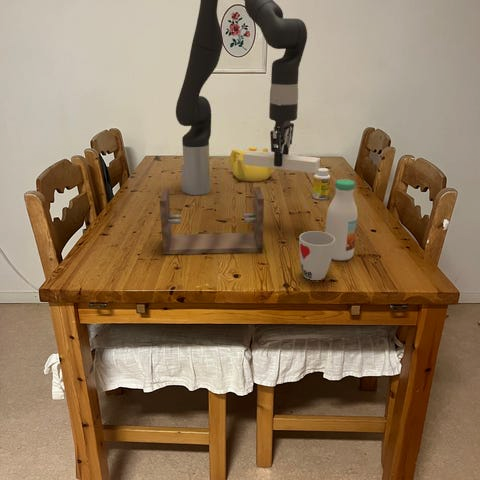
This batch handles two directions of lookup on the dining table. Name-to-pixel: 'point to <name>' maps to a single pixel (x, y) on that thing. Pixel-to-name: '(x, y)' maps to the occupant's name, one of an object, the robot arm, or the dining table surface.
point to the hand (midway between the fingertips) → (281, 163)
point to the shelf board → (287, 162)
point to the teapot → (248, 167)
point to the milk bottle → (342, 220)
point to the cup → (315, 253)
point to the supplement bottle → (321, 184)
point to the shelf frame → (214, 240)
